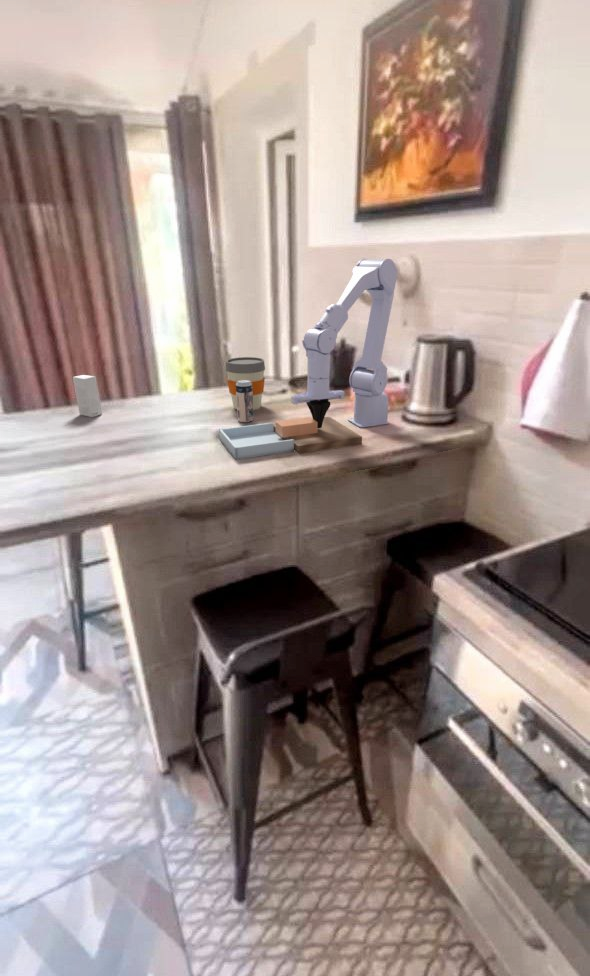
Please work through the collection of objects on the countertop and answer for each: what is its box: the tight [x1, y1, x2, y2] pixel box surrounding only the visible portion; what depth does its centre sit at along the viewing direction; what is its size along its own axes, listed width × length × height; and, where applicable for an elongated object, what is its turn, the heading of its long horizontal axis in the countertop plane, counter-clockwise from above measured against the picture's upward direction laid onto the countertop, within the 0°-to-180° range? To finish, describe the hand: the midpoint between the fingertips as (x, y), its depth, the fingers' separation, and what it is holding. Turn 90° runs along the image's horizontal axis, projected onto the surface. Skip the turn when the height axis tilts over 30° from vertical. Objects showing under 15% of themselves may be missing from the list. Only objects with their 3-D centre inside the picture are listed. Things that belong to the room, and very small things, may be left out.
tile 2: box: [292, 416, 318, 435], centre depth 137 cm, size 5×5×3 cm
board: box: [273, 416, 363, 454], centre depth 139 cm, size 18×20×2 cm
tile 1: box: [274, 418, 300, 438], centre depth 136 cm, size 5×5×3 cm
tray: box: [218, 422, 295, 460], centre depth 134 cm, size 15×16×3 cm
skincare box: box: [72, 374, 103, 418], centre depth 159 cm, size 6×4×12 cm
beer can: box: [236, 380, 255, 423], centre depth 152 cm, size 5×5×12 cm
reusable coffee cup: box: [225, 356, 266, 411], centre depth 165 cm, size 13×13×15 cm
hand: (317, 427), depth 139 cm, fingers closed
